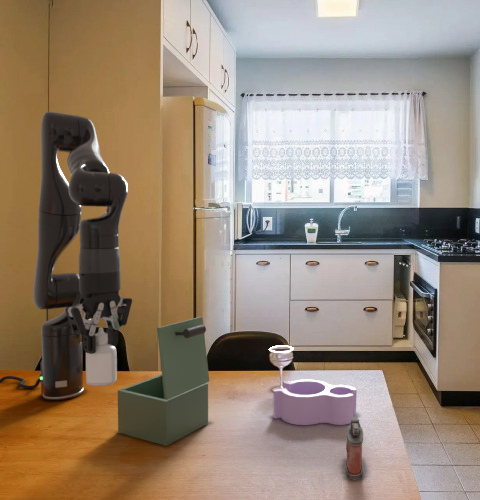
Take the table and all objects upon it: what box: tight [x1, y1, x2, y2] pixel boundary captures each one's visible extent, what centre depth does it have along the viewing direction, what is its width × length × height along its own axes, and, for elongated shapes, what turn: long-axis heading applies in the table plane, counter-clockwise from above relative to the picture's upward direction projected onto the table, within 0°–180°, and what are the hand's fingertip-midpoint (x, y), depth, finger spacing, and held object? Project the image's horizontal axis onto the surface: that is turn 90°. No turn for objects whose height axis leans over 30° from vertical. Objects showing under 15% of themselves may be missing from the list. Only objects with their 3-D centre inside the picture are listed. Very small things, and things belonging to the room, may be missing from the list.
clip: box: [272, 379, 357, 426], centre depth 124 cm, size 20×12×7 cm, turn 80°
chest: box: [117, 373, 209, 447], centre depth 114 cm, size 15×13×10 cm
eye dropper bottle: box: [85, 326, 118, 387], centre depth 103 cm, size 4×6×12 cm
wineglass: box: [268, 345, 294, 392], centre depth 141 cm, size 7×7×12 cm
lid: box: [156, 316, 210, 400], centre depth 110 cm, size 16×13×5 cm
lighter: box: [345, 416, 364, 481], centre depth 98 cm, size 8×3×10 cm, turn 5°
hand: (101, 349), depth 103 cm, fingers closed on eye dropper bottle, 4 cm apart
